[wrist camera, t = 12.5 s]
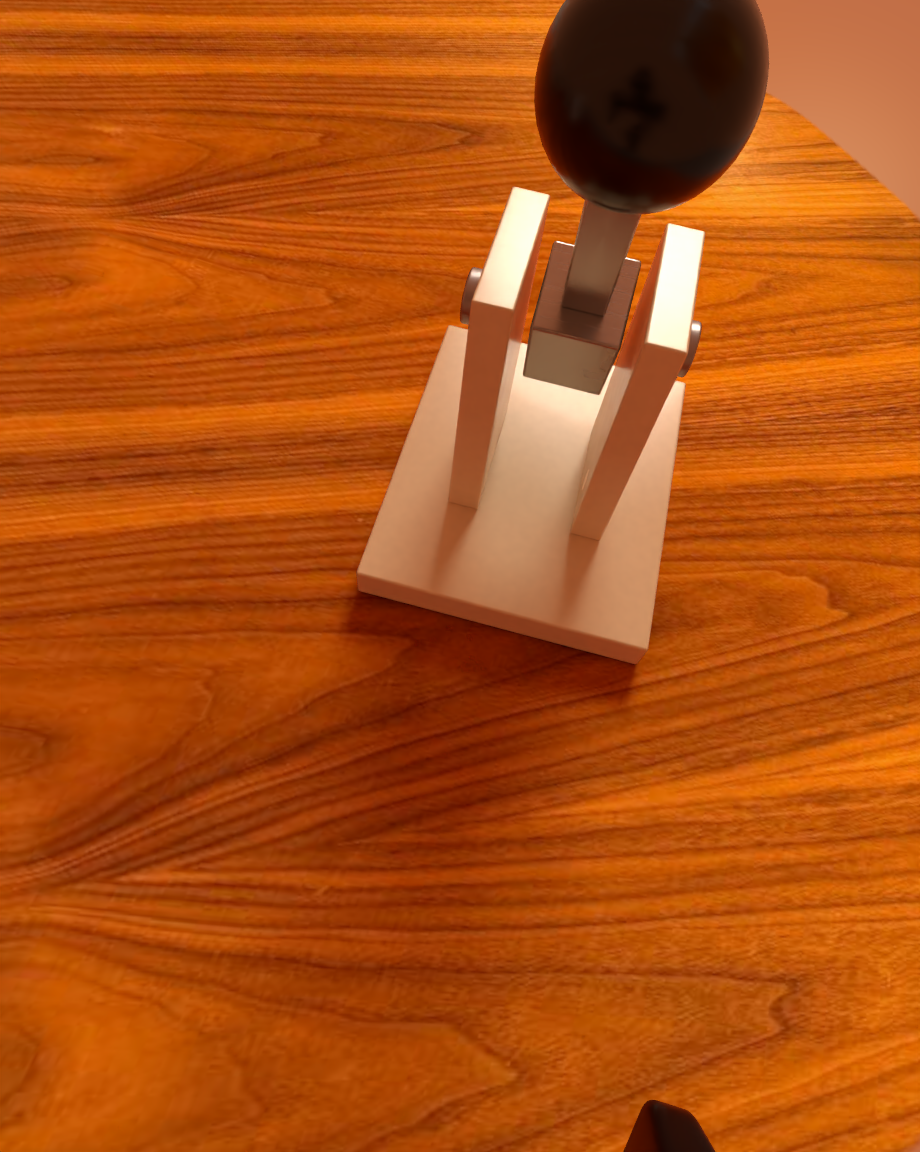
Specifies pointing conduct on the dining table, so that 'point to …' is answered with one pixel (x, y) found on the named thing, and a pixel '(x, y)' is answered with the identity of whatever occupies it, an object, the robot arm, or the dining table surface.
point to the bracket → (541, 462)
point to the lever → (632, 151)
